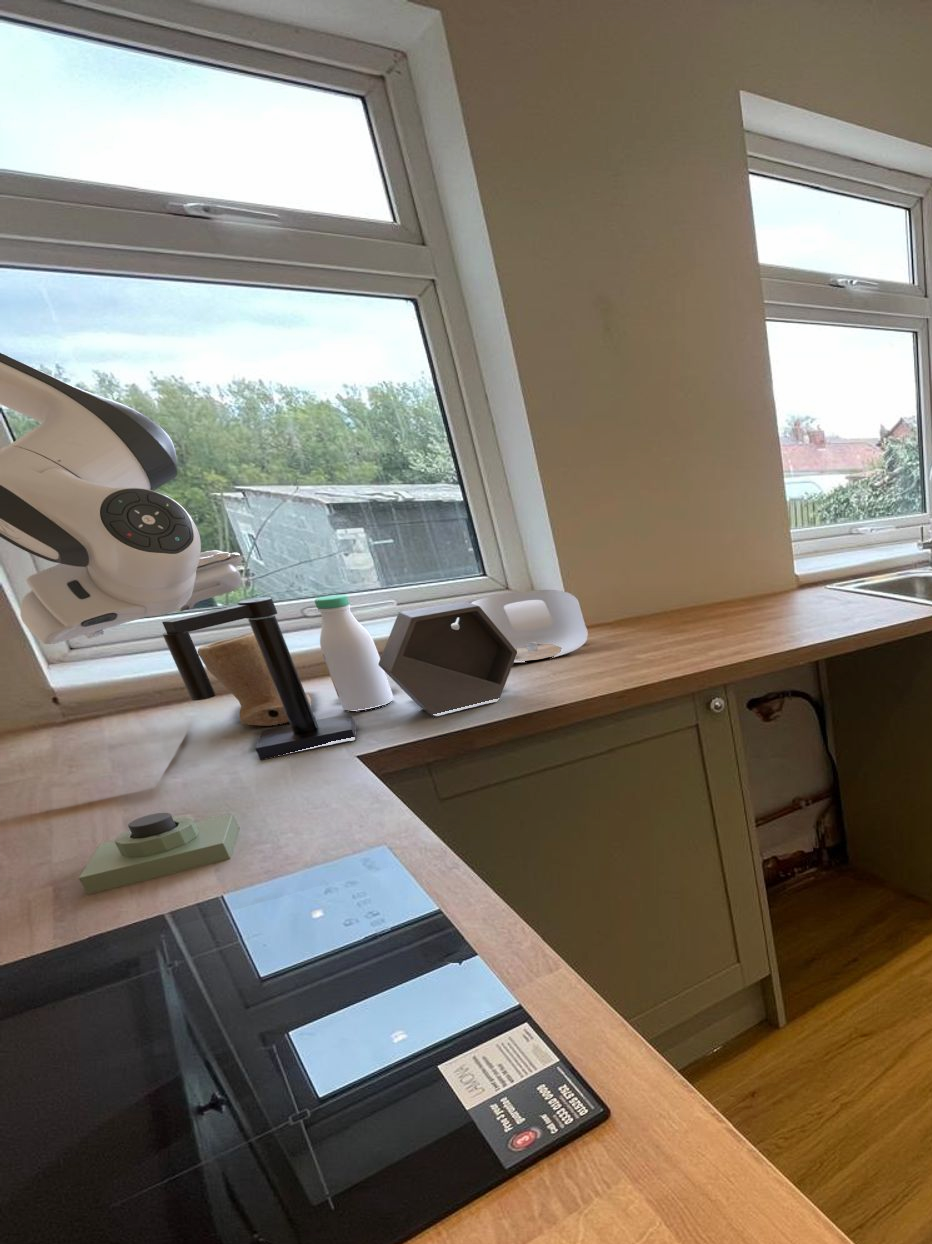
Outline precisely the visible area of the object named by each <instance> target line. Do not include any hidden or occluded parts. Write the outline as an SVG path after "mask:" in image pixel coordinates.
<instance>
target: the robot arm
mask: <svg viewBox="0 0 932 1244" xmlns="http://www.w3.org/2000/svg"><path fill="white" fill-rule="evenodd" d="M0 405H1V406H3V407H6V408H8V409H10V410H12V411H15V412H16V413H19V414H22V415H24V416H26V417H29V418H31V419H33V420H35V421H37V422H39V423H41V424H39V425H38V426H36V427H35V428H32V430H30V431H28V432H27V433H25V434H24V435H22V436H21V437H19V438H18V439H16V440H14V441H13V442H11V443H10V444H9V445H5V446H4V447H2V448H0V538H1V539H3V540H5V541H7V542H8V543H9V544H12V545H13V546H15V547H17V548H19V549H21V551H24V552H27V553H29V554H31V555H33V556H35V557H38V558H41V559H42V560H46V561H48V562H52V563H57V564H56V565H54V566H52V567H49V568H46V569H44V570H41V571H39V572H35V573H32V574H31V575H29V576H28V577H27V578H26V583H27V585H28V587H29V588H30V589H31V590H30V591H28V592H27V593H26V594H25V595H24V596H23V598H22V600H21V604H20V618H21V621H22V622H23V624H24V625H25V626H26V627H27V629H28V630H29V631H30V632H31V633H32V634H33V636H34V637H36V639H37V640H38V641H39V642H41V643H42V644H43V645H53V644H59V643H62V642H65V641H69V640H73V639H75V638H79V637H82V636H85V637H86V638H87V639H93V638H96V637H99V636H103V635H104V632H105V630H106V629H109V628H112V627H116V626H119V625H123V624H126V623H130V622H133V621H136V620H140V619H143V618H148V617H158V616H163V615H168V614H171V613H174V612H176V611H178V612H183V611H186V610H190V609H193V608H194V606H195V605H196V604H197V603H199V602H202V601H205V600H208V599H211V598H215V597H219V596H222V595H226V594H230V593H232V592H234V591H236V590H237V589H239V588H241V586H242V576H241V573H240V571H239V570H238V568H237V567H239V566H240V565H241V564H242V562H243V556H242V554H241V553H239V552H232V553H229V552H227V551H221V550H217V549H213V550H212V549H211V550H207V551H203V552H201V551H202V542H201V541H202V540H201V537H200V532H199V530H198V527H197V525H196V523H195V522H194V520H193V518H192V516H191V515H190V514H189V512H188V511H187V510H186V509H185V508H184V507H183V506H182V505H181V504H180V503H179V502H177V501H176V500H174V499H173V498H172V497H169V496H168V495H166V494H163V493H161V492H158V491H156V490H158V489H159V488H161V487H163V486H164V485H166V484H168V483H169V482H171V481H173V480H174V479H176V478H177V476H178V467H179V465H178V456H177V452H176V448H175V446H174V442H173V440H172V438H171V437H170V435H169V434H168V433H167V432H166V431H165V430H164V429H163V428H162V427H161V426H160V425H159V424H157V423H156V422H155V421H153V420H152V419H150V418H149V417H148V416H146V415H144V414H143V413H141V412H139V411H138V410H136V409H133V408H132V407H129V406H128V405H126V404H123V403H120V402H118V401H115V400H112V399H109V398H107V397H104V396H101V395H98V394H95V393H93V392H89V391H86V390H84V389H82V388H79V387H77V386H75V385H71V384H70V383H67V382H65V381H63V380H61V379H59V378H57V377H54V376H52V375H50V374H48V373H46V372H44V371H42V370H39V369H37V368H35V367H33V366H30V365H29V364H27V363H25V362H22V361H20V360H18V359H16V358H14V357H12V356H9V355H8V354H5V353H3V352H1V351H0Z"/></svg>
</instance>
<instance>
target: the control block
mask: <svg viewBox="0 0 932 1244" xmlns="http://www.w3.org/2000/svg"><path fill="white" fill-rule="evenodd" d="M172 818H173V820H174V822H175V824H176V826H177V827H176V828H174V829H172V830H170V831H167V832H165V833H162V834H159V835H155V836H151V837H146V838H138V839H135V838H134V837H133V835H132V833H131V831H130V829H128V830H126V831H124V832H122V833H120V834H119V835H117V836H116V838H115V840H114V839H113V840H110V841H106V842H102V843H99V846H98V847H97V848H96V850H95V851H94V853H93V855H92V856H91V858H90V859H89V861H88V862H87V864H86V866H85V867H84V869H83V870H82V872H81V874H80V875H79V877H78V880H79V881H80V883H81V885H82V887H83V889H84V891H85V892H86V894H87V895H92V894H96V893H100V892H104V891H108V890H113V889H116V888H120V887H124V886H128V885H132V884H136V883H140V882H144V881H148V880H153V879H156V878H159V877H160V878H161V877H164V876H168V875H172V874H177V873H179V872H184V871H187V870H191V869H196V868H200V867H203V866H209V865H212V864H215V863H219V862H223V861H227V860H231V858H232V855H233V852H234V848H235V845H236V841H237V838H238V835H239V832H240V826H239V824H238V821H237V819H236V817H235V815H234V814H233V813H229V814H225V815H224V814H223V815H220V816H216V817H212V818H211V817H210V818H207V819H202V820H198V821H195V820H194V819H193V818H191V817H187V816H177V817H176V816H175V817H172Z"/></svg>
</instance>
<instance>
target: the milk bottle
mask: <svg viewBox="0 0 932 1244" xmlns="http://www.w3.org/2000/svg"><path fill="white" fill-rule="evenodd" d="M314 604H315V606H316V609H317V612H318V613H319V614H320V616H321V630H320V636H319V646H320V650H321V653H322V656H323V660H324V662H325V665H326V668H327V671H328V674H329V676H330V679H331V682H332V685H333V688H334V690H335V692H336V695H337V698H338V700H339V703H340V706H341V708H342V709H343V710H344V709H345V710H358V709H365V708H370V707H375V706H378V705H382V704H385V703H388V702H390V701H392V700H393V701H394V694H393V691H392V689H391V686H390V682H389V680H388V677H387V673H386V672H385V671H384V670H383V669H382V668H381V667H380V666H379V665H378V664H379V661H380V659H381V656H380V654H379V652H378V649H377V647H376V644H375V641H374V638H372V636H371V635H370V633H369V631H368V630H367V629H366V628H365V627H364V626H363V625H362V624H361V623H360V622H359V621H358V620H357V618H356V617H355V616H354V615H353V613H352V611H351V605H350V600H349V598H348V596H347V595H345V594H333V595H326V596H321V597H317V598H315V599H314ZM345 710H344V711H345Z"/></svg>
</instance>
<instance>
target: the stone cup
mask: <svg viewBox="0 0 932 1244" xmlns="http://www.w3.org/2000/svg"><path fill="white" fill-rule="evenodd" d="M197 653H198V655H199V657H200V660H201V662H202V664H203V665H204V667H205V668H206V670H207V671H208V672H209V673H210V674H211V675H212V676H214V678H215V679H216V680H218V681H219V682H220V684H222V685H223V687H224V688H225V689H227V691H228V692H230V693H231V695H233V696H234V698H236V700H237V701H238V702H239V705H240V709H239V722H240V723H241V724H242V725H249V726H263V727H270V726H271V727H272V725H273V726H279V725H278V724H280V725H284V724H287V723H289V720H288V718H287V715H286V713H285V710H284V708H283V705H282V703H281V700H280V698H279V695H278V693H277V690H276V688H275V685H274V683H273V680H272V678H271V675H270V673H269V670H268V668H267V665H266V663H265V660H264V658H263V656H262V653H261V651H260V648H259V646H258V643H257V641H256V638H255V636H254V633H253V632H247V633H243V634H241V635H236V636H234V637H230V638H225V639H221V640H217V641H214V642H209V643H207V644H204V645H201V646H200V647H199V648H198V649H197ZM305 694H306V696H307V699H308V702H309V704H310V707H311V708H312V699H311V696H310V695H309V694H308V693H306V692H305ZM283 723H284V724H283Z"/></svg>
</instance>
